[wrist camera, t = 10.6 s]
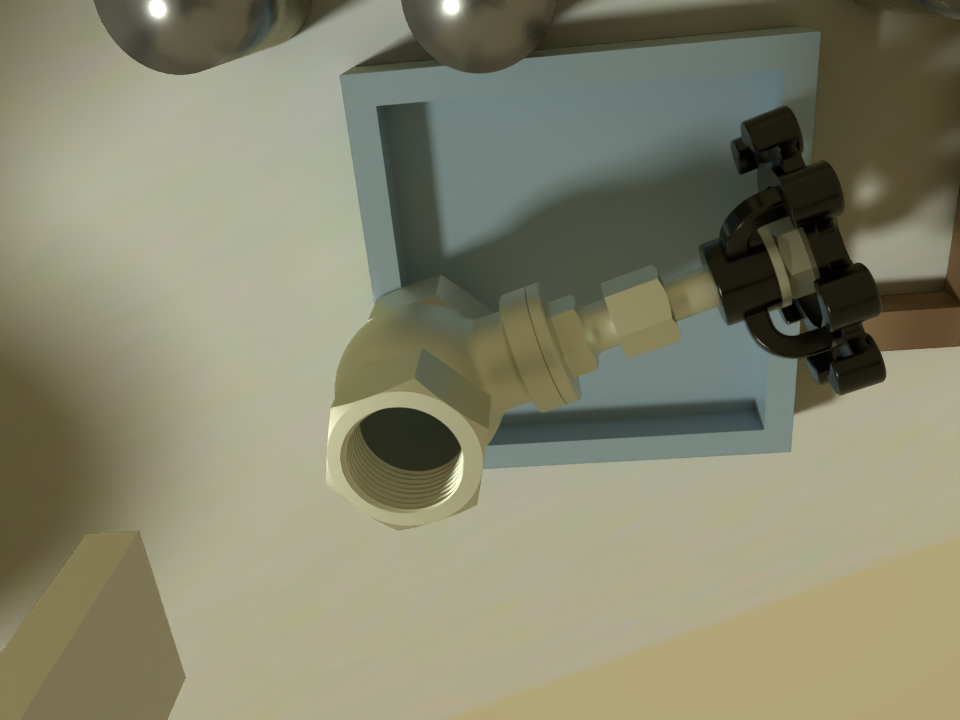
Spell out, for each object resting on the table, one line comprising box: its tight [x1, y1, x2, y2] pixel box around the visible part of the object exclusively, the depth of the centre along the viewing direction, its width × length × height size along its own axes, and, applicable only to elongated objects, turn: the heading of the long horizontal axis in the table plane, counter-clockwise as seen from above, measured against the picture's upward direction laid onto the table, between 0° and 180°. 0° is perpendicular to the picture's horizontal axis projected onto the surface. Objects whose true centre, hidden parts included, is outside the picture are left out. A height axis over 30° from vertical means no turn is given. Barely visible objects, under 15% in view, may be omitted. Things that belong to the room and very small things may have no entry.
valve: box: [326, 105, 886, 530], centre depth 20 cm, size 7×7×12 cm
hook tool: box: [862, 188, 960, 351], centre depth 22 cm, size 5×14×1 cm, turn 5°
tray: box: [340, 26, 821, 469], centre depth 24 cm, size 12×12×2 cm
